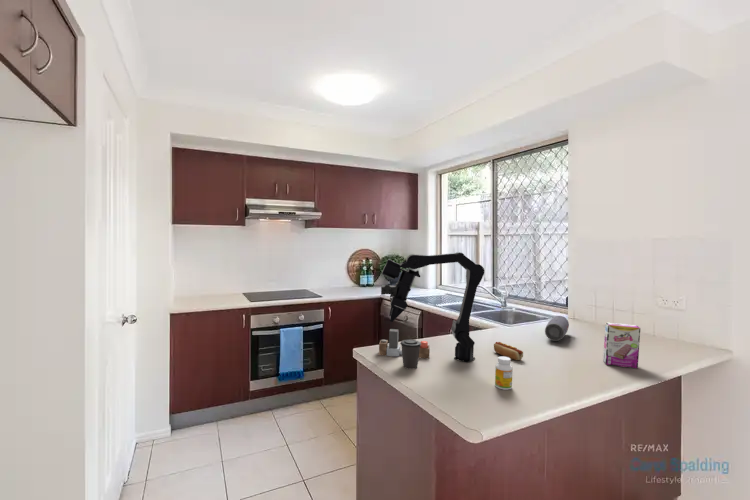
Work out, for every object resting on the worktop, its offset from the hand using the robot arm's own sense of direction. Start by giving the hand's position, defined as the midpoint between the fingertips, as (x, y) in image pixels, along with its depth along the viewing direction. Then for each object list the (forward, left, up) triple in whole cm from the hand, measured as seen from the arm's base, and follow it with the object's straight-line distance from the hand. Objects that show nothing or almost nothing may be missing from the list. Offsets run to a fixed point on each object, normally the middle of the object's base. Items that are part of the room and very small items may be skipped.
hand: (390, 318), depth 150 cm
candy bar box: (-74, -55, -16) cm, 94 cm away
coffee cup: (-12, +3, -16) cm, 20 cm away
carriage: (+1, -4, -16) cm, 16 cm away
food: (-36, -35, -16) cm, 53 cm away
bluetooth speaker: (-45, -81, -16) cm, 94 cm away
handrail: (-2, -6, -16) cm, 17 cm away
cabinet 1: (+5, -2, -16) cm, 17 cm away
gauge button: (-10, -10, -14) cm, 20 cm away
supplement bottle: (-46, -2, -16) cm, 49 cm away
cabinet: (-10, -10, -16) cm, 21 cm away
